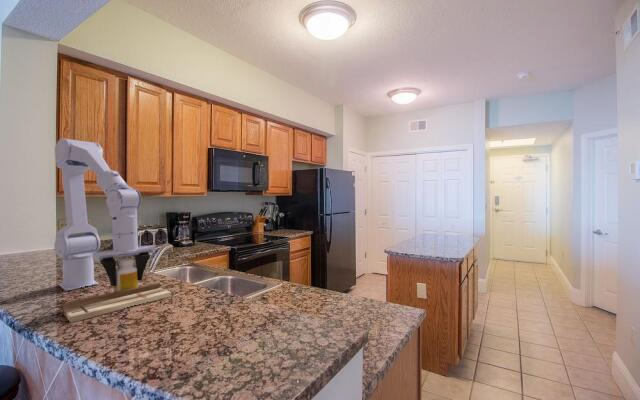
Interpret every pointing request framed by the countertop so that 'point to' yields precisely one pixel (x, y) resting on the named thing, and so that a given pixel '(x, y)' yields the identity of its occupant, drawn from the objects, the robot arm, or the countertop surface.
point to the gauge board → (113, 301)
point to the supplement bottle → (126, 275)
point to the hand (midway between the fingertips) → (126, 282)
